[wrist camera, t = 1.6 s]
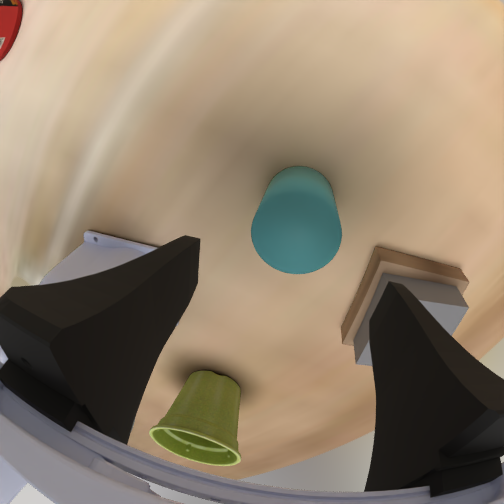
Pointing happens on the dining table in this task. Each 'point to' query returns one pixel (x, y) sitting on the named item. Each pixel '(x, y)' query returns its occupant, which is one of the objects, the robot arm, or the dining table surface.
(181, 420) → the plant pot
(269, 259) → the teal cylinder
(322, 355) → the dining table surface
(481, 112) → the dining table surface
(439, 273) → the walnut slab
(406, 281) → the grey square block
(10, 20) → the canned food
